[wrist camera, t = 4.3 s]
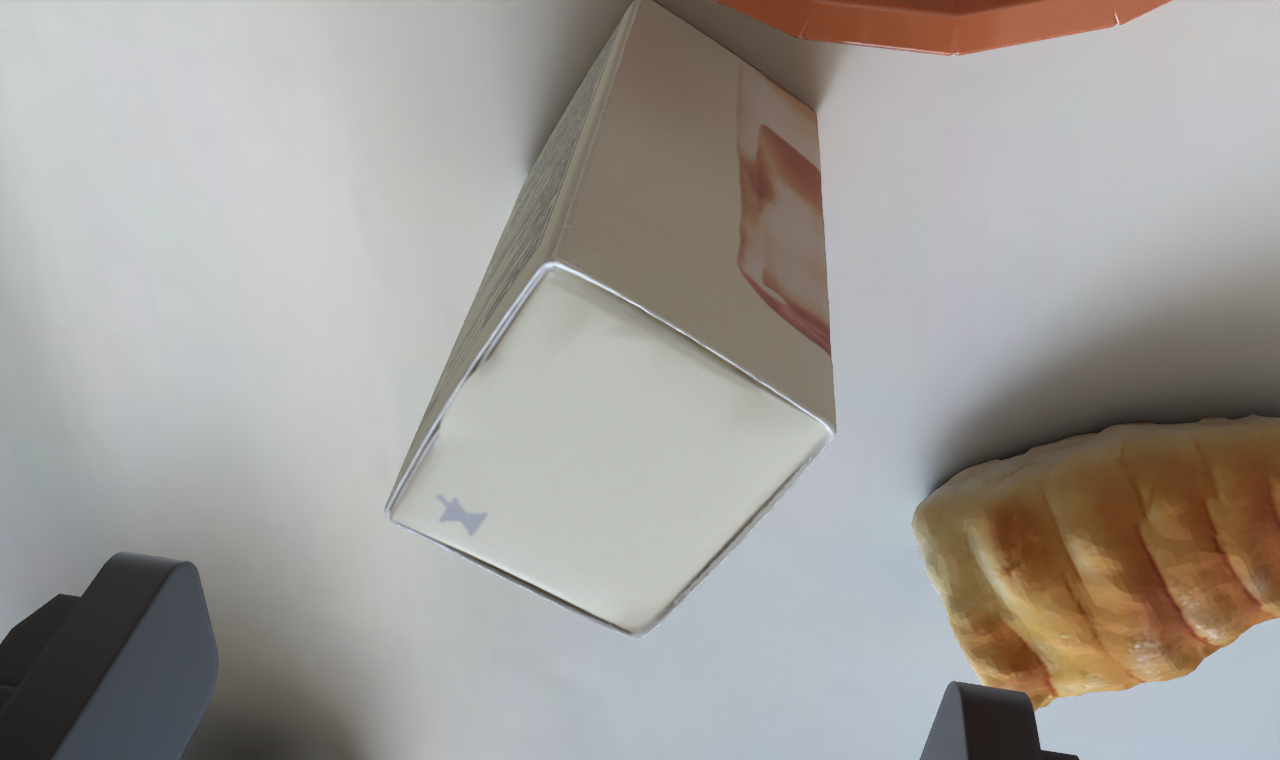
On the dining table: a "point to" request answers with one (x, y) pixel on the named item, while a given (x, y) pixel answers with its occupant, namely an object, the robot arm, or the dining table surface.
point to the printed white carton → (638, 339)
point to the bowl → (940, 21)
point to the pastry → (1108, 554)
